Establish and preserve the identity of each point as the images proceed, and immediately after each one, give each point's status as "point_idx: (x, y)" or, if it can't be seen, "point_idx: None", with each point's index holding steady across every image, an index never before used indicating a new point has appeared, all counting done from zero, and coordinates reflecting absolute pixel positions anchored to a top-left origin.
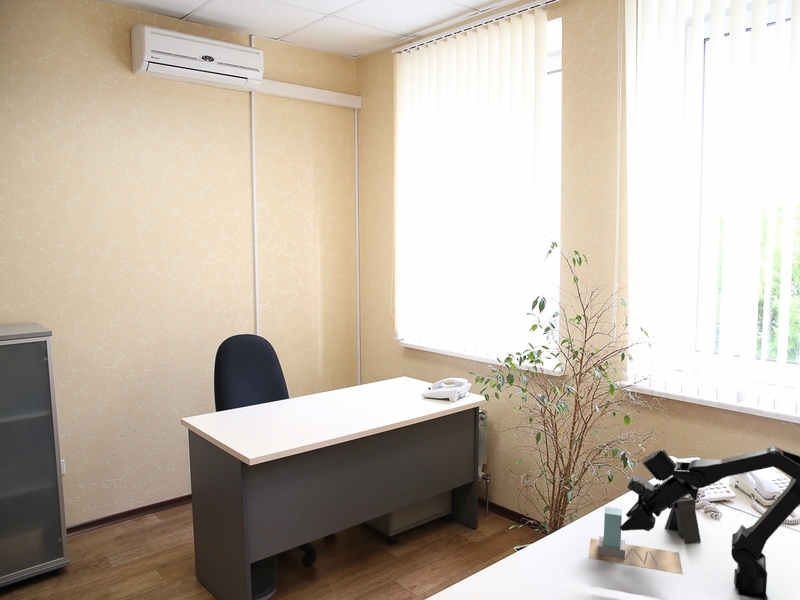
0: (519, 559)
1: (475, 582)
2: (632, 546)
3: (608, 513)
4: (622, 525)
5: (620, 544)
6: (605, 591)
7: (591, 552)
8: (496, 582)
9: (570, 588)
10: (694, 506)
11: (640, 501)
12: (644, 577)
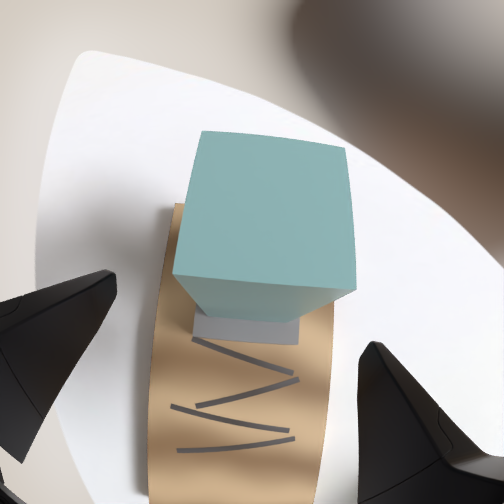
0: (177, 77)
1: (100, 55)
2: (318, 376)
3: (202, 156)
4: (76, 278)
5: (206, 313)
6: (41, 254)
7: None
8: (95, 71)
9: (57, 174)
10: None
11: (442, 492)
12: (124, 391)
